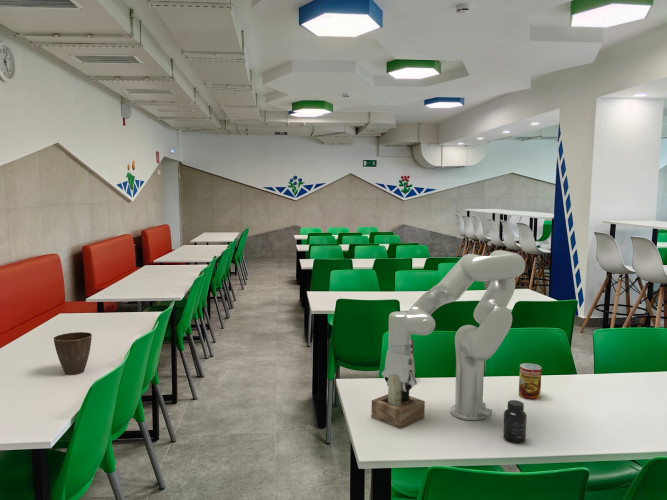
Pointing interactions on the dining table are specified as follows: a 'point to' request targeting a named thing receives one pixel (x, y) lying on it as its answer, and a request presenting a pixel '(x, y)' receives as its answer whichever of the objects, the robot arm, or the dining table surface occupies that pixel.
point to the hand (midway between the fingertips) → (398, 398)
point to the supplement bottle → (515, 422)
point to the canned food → (530, 381)
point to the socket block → (398, 411)
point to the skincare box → (395, 391)
